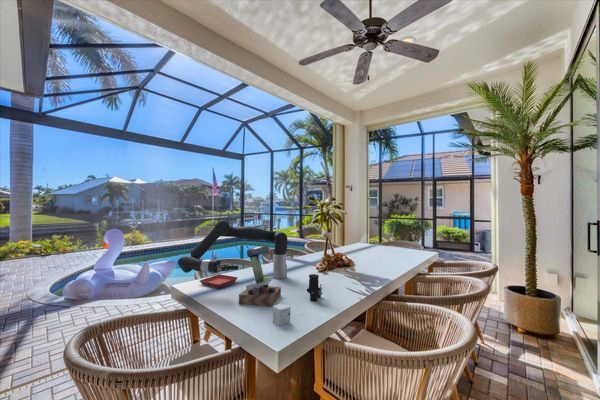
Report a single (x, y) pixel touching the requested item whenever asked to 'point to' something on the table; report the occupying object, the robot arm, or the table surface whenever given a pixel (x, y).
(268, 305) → the wooden block with holes
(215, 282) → the plant saucer
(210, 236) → the robot arm
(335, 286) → the table surface
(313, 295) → the scope
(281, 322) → the skincare box
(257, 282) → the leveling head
